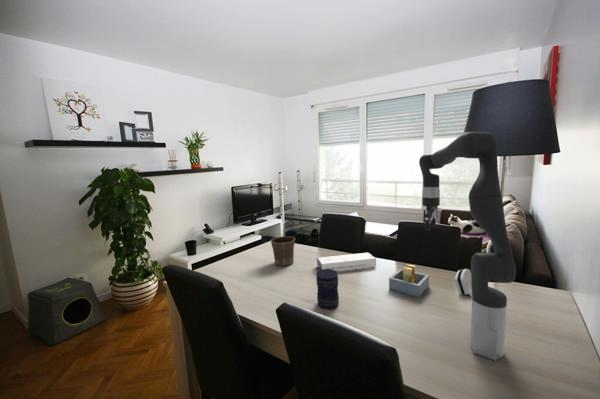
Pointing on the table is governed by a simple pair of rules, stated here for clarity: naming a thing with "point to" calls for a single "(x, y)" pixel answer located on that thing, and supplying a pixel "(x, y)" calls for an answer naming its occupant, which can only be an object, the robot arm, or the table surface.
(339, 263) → the laminator
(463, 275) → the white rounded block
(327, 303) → the storage jar
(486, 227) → the robot arm
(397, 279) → the box
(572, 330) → the table surface
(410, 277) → the bracket
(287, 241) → the plant pot
